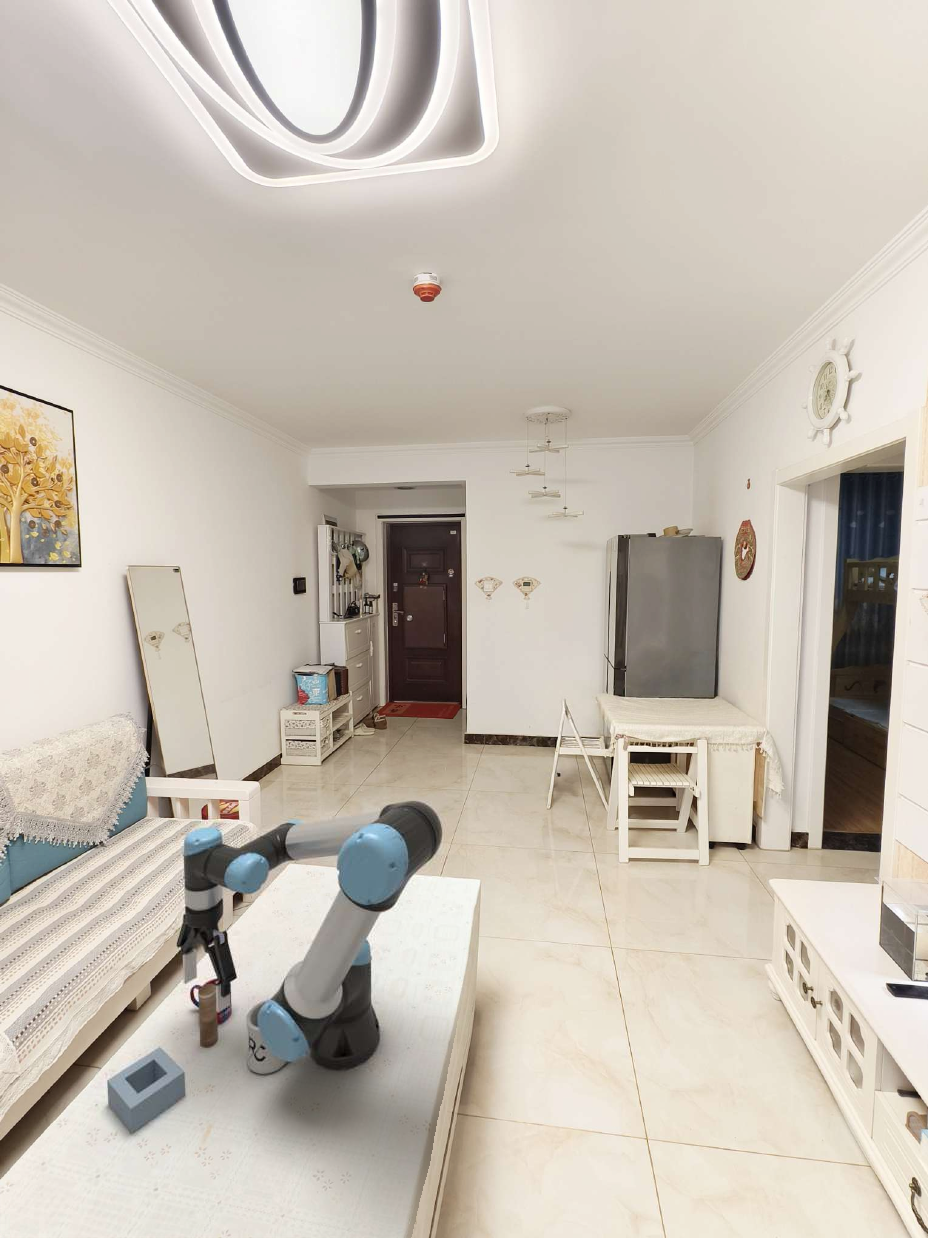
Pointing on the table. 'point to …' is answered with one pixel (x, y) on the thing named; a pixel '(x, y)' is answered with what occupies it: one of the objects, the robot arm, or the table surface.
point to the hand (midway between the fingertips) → (206, 994)
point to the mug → (259, 1046)
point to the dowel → (208, 1015)
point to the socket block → (146, 1089)
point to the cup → (221, 1015)
